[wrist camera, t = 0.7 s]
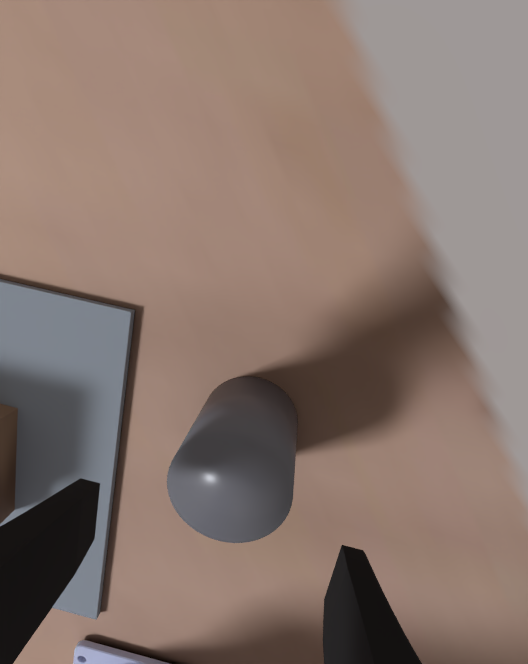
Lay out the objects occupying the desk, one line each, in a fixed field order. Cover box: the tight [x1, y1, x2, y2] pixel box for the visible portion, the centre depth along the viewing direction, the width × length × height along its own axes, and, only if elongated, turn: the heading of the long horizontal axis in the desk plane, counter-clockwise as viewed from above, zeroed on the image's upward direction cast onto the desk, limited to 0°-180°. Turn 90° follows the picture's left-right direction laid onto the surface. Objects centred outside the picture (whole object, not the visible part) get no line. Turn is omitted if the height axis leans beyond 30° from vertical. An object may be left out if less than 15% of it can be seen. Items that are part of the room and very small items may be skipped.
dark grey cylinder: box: [167, 376, 298, 543], centre depth 16 cm, size 4×4×5 cm
